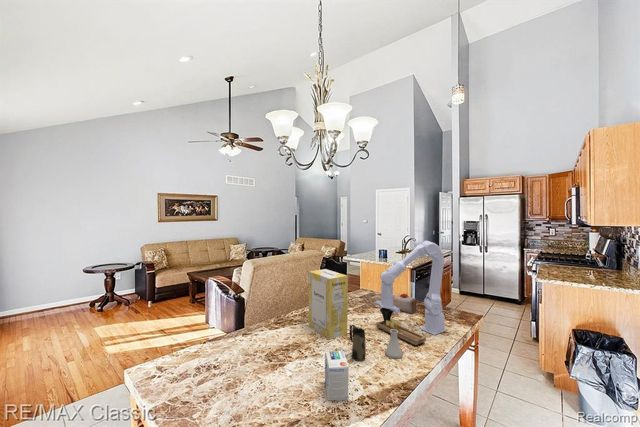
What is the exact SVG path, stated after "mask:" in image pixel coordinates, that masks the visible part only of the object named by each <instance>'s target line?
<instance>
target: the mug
mask: <svg viewBox="0 0 640 427" xmlns="http://www.w3.org/2000/svg"><path fill="white" fill-rule="evenodd" d="M348 330H349V339H350V342H351V343H352V345H351V347H352V348H351V349H352V350H351V359H352V360H353V361H355V362H363V361H365V360H366V349H367V348H366V346H367V344H366V331H365V329H363V328H359V327H357V326H356V325H354V324H350V325H349V328H348Z"/></svg>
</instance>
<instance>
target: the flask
mask: <svg viewBox="0 0 640 427" xmlns="http://www.w3.org/2000/svg"><path fill="white" fill-rule="evenodd" d="M390 332H391V333H390V337H389V338H390V339H389V340H388V344H387V347H386V349H385V351H384V354H385V356H386V357H387V358H391V359H393V360H396V359H402V358H403V354H404V353H403V351H402V349H401V345H400V341H399V338H398V337H397V333H398V331H397V330H395V329H391V330H390Z"/></svg>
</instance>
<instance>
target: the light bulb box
mask: <svg viewBox="0 0 640 427" xmlns="http://www.w3.org/2000/svg"><path fill="white" fill-rule="evenodd" d="M349 371H350V369H349V364H348V360H347V358H346V355H345V351H344V350H334V351H333V350H332V351H331V350H330V351H325V352H324V384H325V385H324V386H325V390H326V391H325V392H326V398H327V401H328V400H336V401H349Z"/></svg>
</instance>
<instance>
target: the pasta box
mask: <svg viewBox="0 0 640 427" xmlns="http://www.w3.org/2000/svg"><path fill="white" fill-rule="evenodd" d="M348 277H349V276H348V275H346V274H343V273H339V272H337V271H333V270H330V269H327V268H324V269H317V270H309V271H308V327H310V328H312V330H315V331H316V332H317V333H319V334H320V335H322V336H324V337H325V338H327V339H328V340H332V339H335V338H338V337H341V336H344V335H347V334H348V305H349V304H348V297H349V296H348V293H349V291H348V288H349V287H348V286H349V284H348V282H349V278H348Z"/></svg>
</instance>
